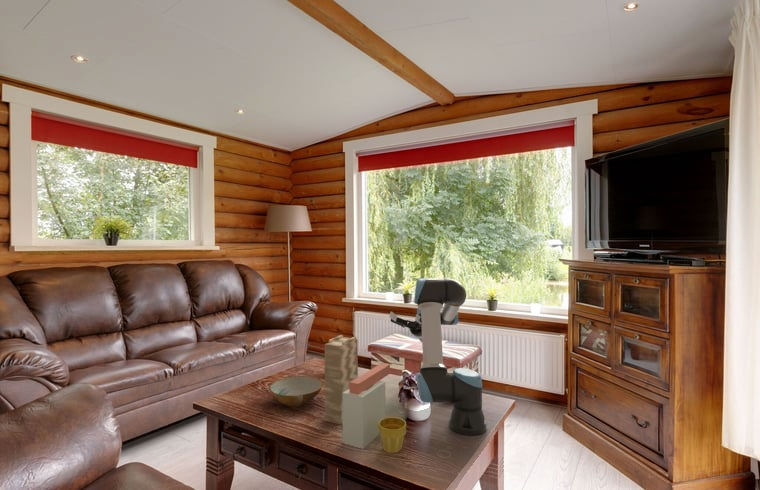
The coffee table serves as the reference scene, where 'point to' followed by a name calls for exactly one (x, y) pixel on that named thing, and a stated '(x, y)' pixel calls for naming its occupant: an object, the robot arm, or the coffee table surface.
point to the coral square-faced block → (369, 378)
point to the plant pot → (392, 433)
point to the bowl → (296, 390)
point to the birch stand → (339, 374)
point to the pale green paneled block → (363, 415)
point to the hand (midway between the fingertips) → (403, 315)
